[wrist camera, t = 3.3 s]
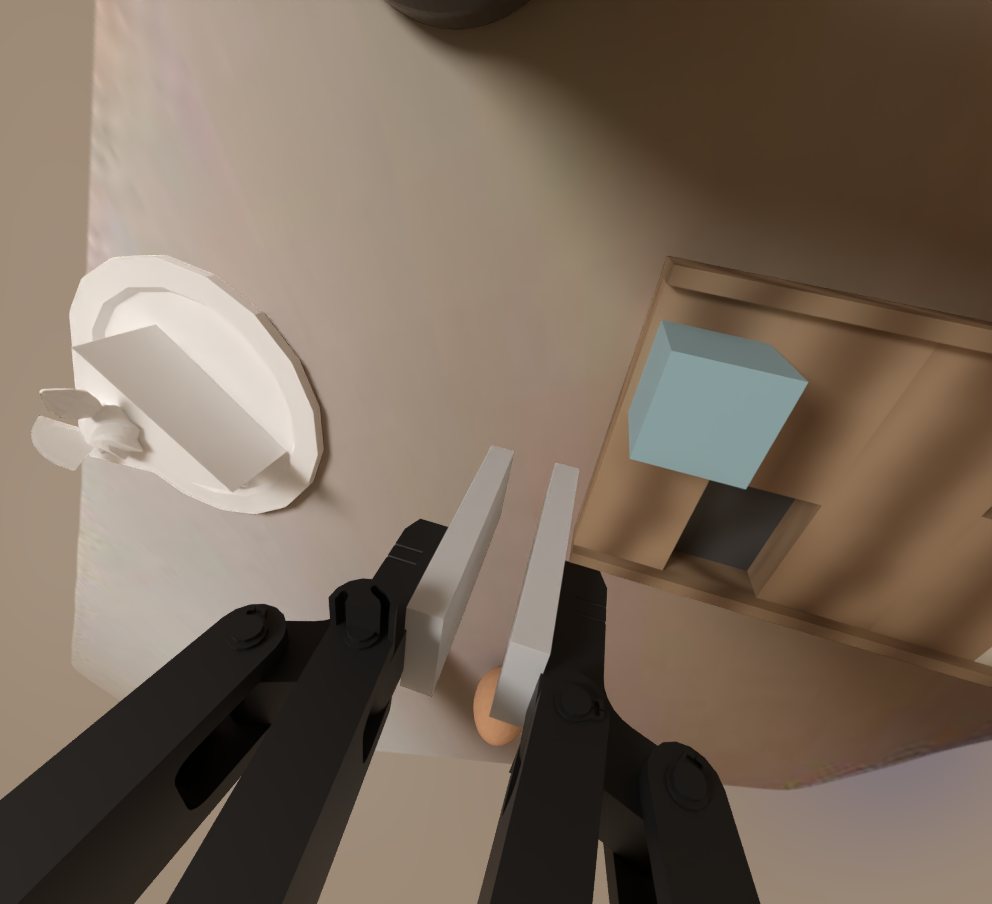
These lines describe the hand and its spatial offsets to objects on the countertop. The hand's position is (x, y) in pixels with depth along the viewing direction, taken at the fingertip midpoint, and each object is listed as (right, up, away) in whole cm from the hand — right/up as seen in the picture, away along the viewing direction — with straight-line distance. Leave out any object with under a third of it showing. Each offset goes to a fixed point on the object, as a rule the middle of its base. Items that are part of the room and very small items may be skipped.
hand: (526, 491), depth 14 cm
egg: (+1, -23, +36) cm, 43 cm away
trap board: (+25, -1, +15) cm, 29 cm away
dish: (-28, +6, +27) cm, 40 cm away
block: (+11, +6, +12) cm, 17 cm away
